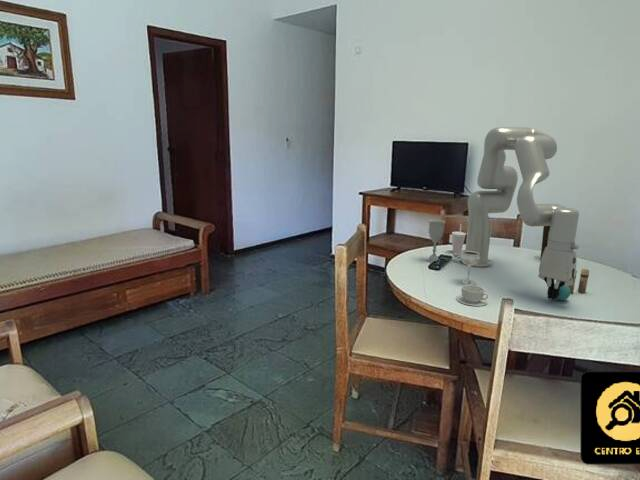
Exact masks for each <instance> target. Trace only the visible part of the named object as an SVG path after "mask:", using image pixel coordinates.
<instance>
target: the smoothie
mask: <svg viewBox="0 0 640 480" xmlns="http://www.w3.org/2000/svg"><path fill="white" fill-rule="evenodd" d="M451 236H452V237H451V239H452V240H451V241H452V242H451V243H452V253H453V254H454V253H461V252H462V250H463V247H464V242H465V238H466V237H467V232H462V223H460V225H459V231H452V232H451Z"/></svg>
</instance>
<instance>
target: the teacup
mask: <svg viewBox="0 0 640 480" xmlns="http://www.w3.org/2000/svg"><path fill="white" fill-rule="evenodd" d="M460 288H461V294H459V295H457V296H456V300H457V301H458V302H459V303H462V304H464V305H467V306H472V307H473V306H475V307H482V306H485V305H487V304H488V297H489V293H487V292H485V291H486V290H485V288H484V287H482V286H479V285H475V284H472V285H468V284H464V285H461V287H460ZM484 296H486V297H484Z"/></svg>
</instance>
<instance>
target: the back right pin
mask: <svg viewBox="0 0 640 480" xmlns="http://www.w3.org/2000/svg"><path fill="white" fill-rule="evenodd" d="M589 276H590V269H586V268H582V269H581V270H580V276H579V280H578V281H579V282H578V288H577V293H579V294H586V293H587V286H588V281H589Z"/></svg>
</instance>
